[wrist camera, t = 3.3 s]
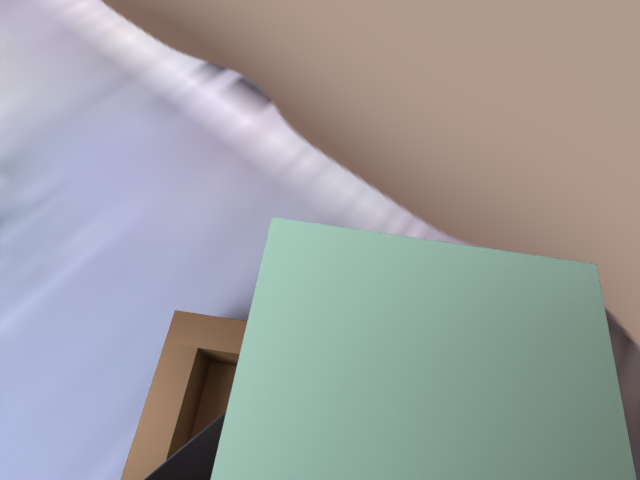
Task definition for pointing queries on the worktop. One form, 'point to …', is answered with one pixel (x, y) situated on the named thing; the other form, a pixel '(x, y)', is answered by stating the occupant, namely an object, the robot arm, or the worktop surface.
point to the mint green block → (421, 365)
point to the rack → (185, 388)
